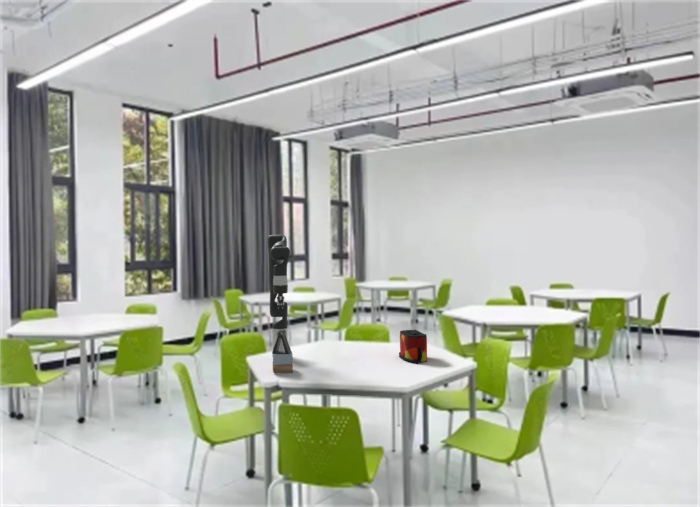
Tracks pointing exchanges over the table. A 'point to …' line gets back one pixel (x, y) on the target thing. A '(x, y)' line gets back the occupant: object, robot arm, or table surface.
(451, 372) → the table surface
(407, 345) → the bag
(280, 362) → the tower top
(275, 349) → the phone stand
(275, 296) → the robot arm
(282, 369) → the tower bottom
